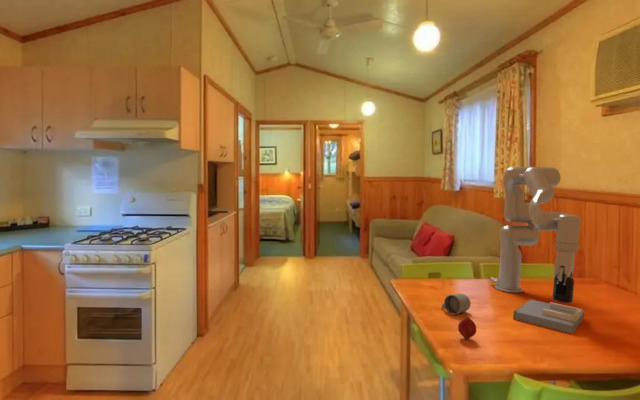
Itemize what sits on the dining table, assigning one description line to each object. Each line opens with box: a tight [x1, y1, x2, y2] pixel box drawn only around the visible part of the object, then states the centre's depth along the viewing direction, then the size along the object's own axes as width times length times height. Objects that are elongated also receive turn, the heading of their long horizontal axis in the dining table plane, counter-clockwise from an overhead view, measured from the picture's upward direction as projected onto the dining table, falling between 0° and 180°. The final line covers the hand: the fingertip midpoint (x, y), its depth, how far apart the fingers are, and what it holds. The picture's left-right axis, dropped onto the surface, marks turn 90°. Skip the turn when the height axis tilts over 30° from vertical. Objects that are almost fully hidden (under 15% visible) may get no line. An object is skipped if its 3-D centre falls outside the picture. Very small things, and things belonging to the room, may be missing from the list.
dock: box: [513, 299, 585, 335], centre depth 163 cm, size 20×22×5 cm
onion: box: [457, 315, 477, 340], centre depth 140 cm, size 6×6×8 cm
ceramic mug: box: [441, 293, 471, 315], centre depth 168 cm, size 11×8×8 cm
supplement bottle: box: [552, 272, 575, 304], centre depth 159 cm, size 7×7×12 cm
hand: (563, 292), depth 159 cm, fingers closed on supplement bottle, 6 cm apart
